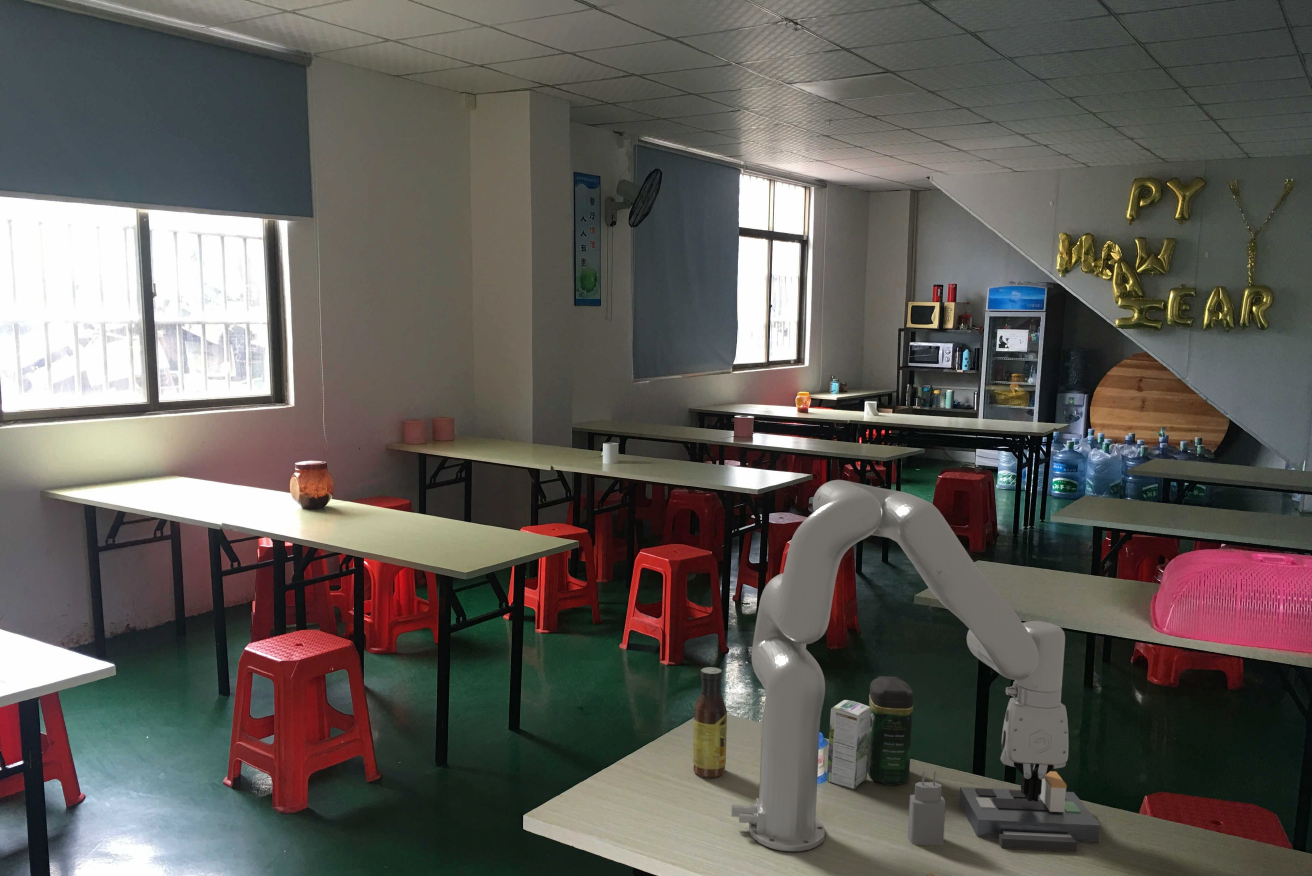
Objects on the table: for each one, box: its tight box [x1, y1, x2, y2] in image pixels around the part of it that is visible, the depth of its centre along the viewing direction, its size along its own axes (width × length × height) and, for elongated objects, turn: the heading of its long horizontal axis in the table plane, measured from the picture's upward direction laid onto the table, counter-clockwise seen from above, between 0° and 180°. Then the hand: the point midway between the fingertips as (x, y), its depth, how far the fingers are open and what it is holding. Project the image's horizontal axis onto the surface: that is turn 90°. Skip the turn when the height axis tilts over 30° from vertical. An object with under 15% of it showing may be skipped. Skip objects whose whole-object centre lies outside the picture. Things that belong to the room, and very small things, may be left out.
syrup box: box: [826, 699, 871, 790], centre depth 183 cm, size 6×6×14 cm
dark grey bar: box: [998, 831, 1078, 853], centre depth 161 cm, size 12×3×2 cm, turn 87°
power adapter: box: [907, 770, 947, 846], centre depth 162 cm, size 3×5×12 cm, turn 91°
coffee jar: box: [867, 675, 914, 786], centre depth 185 cm, size 10×8×19 cm
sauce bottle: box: [692, 666, 728, 779], centre depth 185 cm, size 7×6×20 cm
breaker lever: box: [1040, 770, 1068, 812], centre depth 168 cm, size 2×5×5 cm, turn 177°
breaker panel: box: [958, 786, 1101, 843], centre depth 169 cm, size 20×12×3 cm, turn 87°
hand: (1030, 797), depth 169 cm, fingers closed
